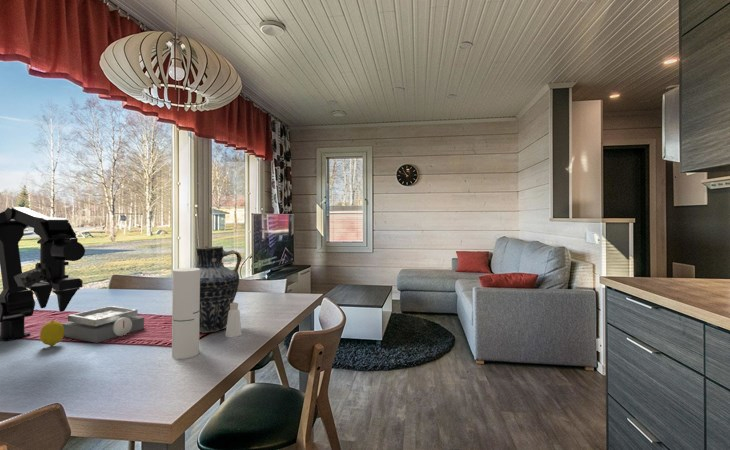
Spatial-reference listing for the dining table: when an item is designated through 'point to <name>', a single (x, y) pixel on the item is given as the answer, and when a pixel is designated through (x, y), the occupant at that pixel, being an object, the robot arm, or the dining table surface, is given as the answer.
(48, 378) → the dining table surface
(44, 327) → the lemon
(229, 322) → the pepper shaker
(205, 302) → the jug
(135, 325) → the scale
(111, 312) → the pan
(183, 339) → the cylindrical container
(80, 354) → the dining table surface
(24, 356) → the dining table surface
